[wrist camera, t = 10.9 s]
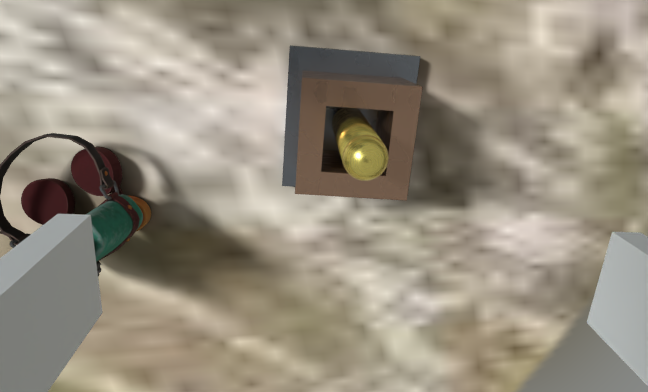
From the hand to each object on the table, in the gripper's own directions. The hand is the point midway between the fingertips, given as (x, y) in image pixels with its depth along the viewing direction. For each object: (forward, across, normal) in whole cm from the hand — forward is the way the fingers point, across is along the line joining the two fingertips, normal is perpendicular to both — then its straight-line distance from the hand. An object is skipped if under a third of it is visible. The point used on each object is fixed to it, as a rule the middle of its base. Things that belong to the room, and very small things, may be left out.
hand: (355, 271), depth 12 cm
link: (+23, +2, -1) cm, 23 cm away
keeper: (+24, +2, -1) cm, 24 cm away
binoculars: (+24, -18, -7) cm, 31 cm away
